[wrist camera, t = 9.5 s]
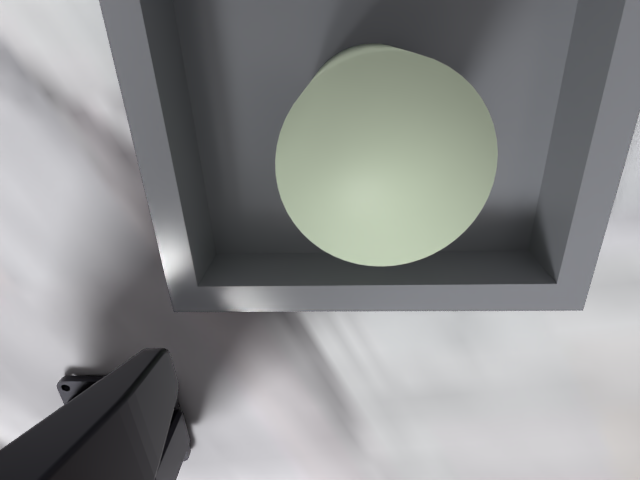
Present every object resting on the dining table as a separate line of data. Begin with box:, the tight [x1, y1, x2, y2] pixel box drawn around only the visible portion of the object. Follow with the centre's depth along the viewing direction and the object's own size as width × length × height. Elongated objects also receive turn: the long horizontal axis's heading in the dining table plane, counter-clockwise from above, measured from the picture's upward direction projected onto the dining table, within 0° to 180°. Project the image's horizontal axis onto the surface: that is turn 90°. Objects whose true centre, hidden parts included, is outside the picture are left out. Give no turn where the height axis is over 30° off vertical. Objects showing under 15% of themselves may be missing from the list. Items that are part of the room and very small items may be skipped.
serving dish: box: [99, 0, 640, 312], centre depth 15 cm, size 16×14×4 cm
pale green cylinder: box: [275, 43, 498, 266], centre depth 13 cm, size 5×5×7 cm
